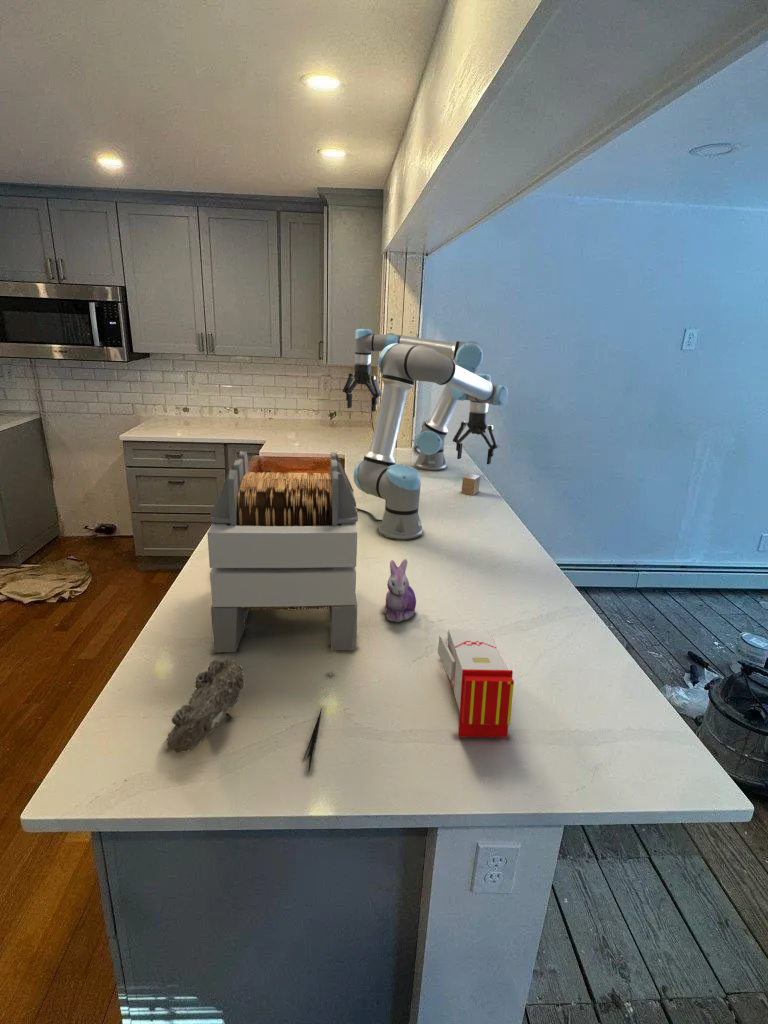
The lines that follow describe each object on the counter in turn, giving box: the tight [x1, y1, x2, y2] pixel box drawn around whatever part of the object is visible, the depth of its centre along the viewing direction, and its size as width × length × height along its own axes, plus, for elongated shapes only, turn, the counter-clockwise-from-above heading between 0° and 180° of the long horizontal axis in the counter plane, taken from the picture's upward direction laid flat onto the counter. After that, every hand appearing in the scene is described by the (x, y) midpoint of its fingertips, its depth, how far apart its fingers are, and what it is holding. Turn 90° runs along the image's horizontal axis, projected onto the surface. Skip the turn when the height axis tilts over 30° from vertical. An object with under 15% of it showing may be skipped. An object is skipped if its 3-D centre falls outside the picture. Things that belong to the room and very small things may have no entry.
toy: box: [437, 628, 515, 738], centre depth 117 cm, size 12×13×30 cm
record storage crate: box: [206, 450, 359, 654], centre depth 137 cm, size 34×33×41 cm
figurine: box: [384, 558, 417, 623], centre depth 145 cm, size 9×10×15 cm
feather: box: [301, 673, 332, 771], centre depth 108 cm, size 2×28×2 cm
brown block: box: [460, 473, 481, 496], centre depth 248 cm, size 7×5×7 cm
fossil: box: [166, 658, 245, 754], centre depth 106 cm, size 22×10×15 cm
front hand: (473, 461), depth 244 cm, fingers open, 13 cm apart
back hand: (361, 409), depth 271 cm, fingers open, 13 cm apart
